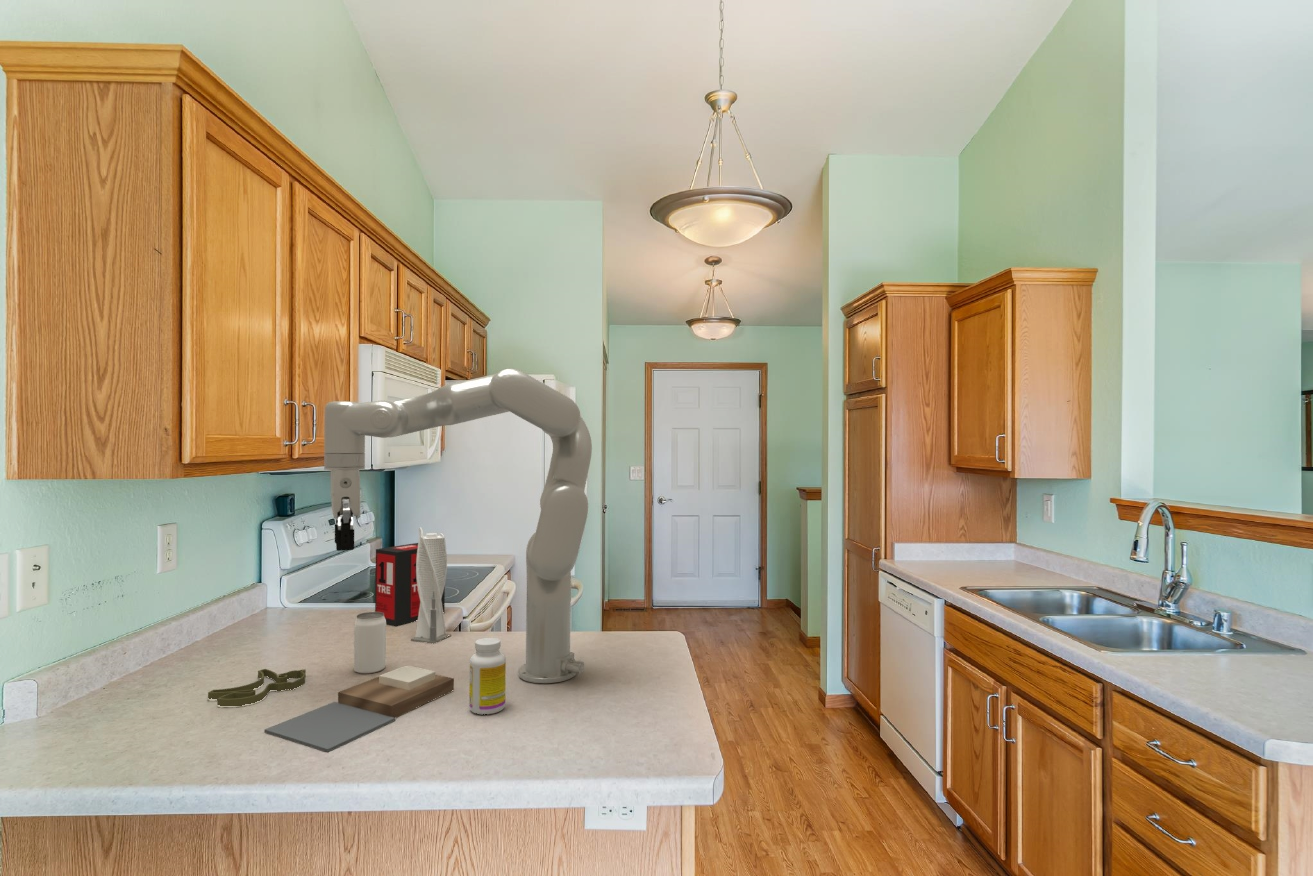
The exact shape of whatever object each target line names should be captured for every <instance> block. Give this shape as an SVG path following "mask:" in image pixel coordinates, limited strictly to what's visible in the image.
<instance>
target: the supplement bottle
mask: <svg viewBox="0 0 1313 876" xmlns="http://www.w3.org/2000/svg"><path fill="white" fill-rule="evenodd" d="M474 649H475V651H476V652H475V653H474V654H472V655H471V657H470V659H469V693H468V694H469V695H468V696H469V699H468V701H469V706H468V707H469V710H470V712H471V713H473V714H476V713H477V715H483V714H484V715H485V714H487V715H492V714H496V713H499V712H501V711H502V710H504V708H505V707H506V674H507V673H506V667H507V666H506V664H507V663H506V662H507V661H506V656H505V654H504V653H502V652H501V651H500V649H501V639H500V638H497V637H484V638H483V637H482V638H479V639H477V640H475V642H474Z"/></svg>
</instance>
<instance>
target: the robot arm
mask: <svg viewBox="0 0 1313 876" xmlns="http://www.w3.org/2000/svg"><path fill="white" fill-rule="evenodd" d="M509 412H510V413H511V414H514V415H515V416H517V417H519V418H520V419H522V420H525V422H528V423H529V424H532V426H533V425H534V426H535V427H537V428H539V429H541V430H542V431H543V432H544V433H545V434H547V436H549V437H550V439H551V440H550V441H552V454H551V456H550V457H551V459H550V464H549V468H548V471H547V476H546V480H545V484H544V487H543V490H542V492H541V496H540V499H539V501H540V502H539V505H540V506H539V507H540V513H539V517H538V522H537V527H536V529H535V532H534V533H533V534H532V535H531V537H529V540H528V542H527V544H526V552H525V557H526V558H525V561H526V562H525V563H526V606H525V607H526V608H525V609H526V613H525V614H526V618H525V623H526V625H525V626H526V627H525V663H524V664H522V665H520V667H519V668H518V677H519V678H520V679H521V680H523V681H525V682H529V683H535V684H553V683H554V684H555V683H560V682H565V681H568V680H570V679H572V678H574V677H575V676H576V675H577V674H579V675H581V674H582V673H583V672H584V666H585V662H584V661H582V660H576V659H575V652H571V610H572V609H571V606H572V605H571V604H572V602H571V601H572V580H571V579H572V574H571V573H572V572H571V571H572V570H573V569H574V567H575V565H576V562H577V560H578V555H579V551H580V547H581V543H582V540H583V535H584V532H585V527H586V523H587V518H588V515H589V500H588V497H587V494H586V493H585V489H586V484H587V481H588V477H589V476H588V475H589V470H590V464H591V459H592V450H593V447H592V439H591V438H592V437H591V435H590V434H591V433H590V431H589V428H588V426H587V424H586V422H585V420H584V419H583V418H582V416H581V411H580V408H579V406H578V405H577V403H576V402H575V401H574V400H573V399H572V398H570V397H568V396H567V395H565V394H563V393H562V392H560V391H558V390H556V389H555V388H552V387H551V386H549V385H547V384H545V383H543V382H541V381H539V380H538V379H536V378H534V377H533V376H532V375H529V373H528V374H527V373H526V372H524V371H522V370H520V369H517V368H514V367H512V368H510V367H509V368H505V369H502V370H499V371H498V372H496V373H493V374H489V375H484V376H481V377H476V378H471V379H467V380H462V381H457V382H456V381H455V382H452V383H449V384H445V385H443V386H441V387H439V388H437V389H436V390H434V391H433V390H432V391H430V392H428V393H425V394H422V395H418V396H413V397H409V398H405V399H400V400H396V401H390V400H389V401H388V400H378V401H377V400H375V401H368V402H367V401H366V402H358V401H348V400H347V401H344V400H341V401H339V400H336V401H335V400H334V401H330V402H327V404H325V407H324V440H323V441H324V445H323V446H324V447H323V448H324V450H323V451H324V452H323V453H324V455H323V458H324V459H323V460H324V461H323V462H324V463H323V465H324V466H323V468H324V471H325V470H327V471H330V500H331V509H332V515H333V518H334V519H335V524H334V543H335V544H336V546H335V547H336V548H335V549H336V551H341V552H342V551H353V550H355V529H354V517H355V518H356V519H357V520H358V519H359V518H361V476H360V474H361V473H360V470H365V469H366V466H365V465H366V464H365V463H366V453H365V452H366V449H365V448H366V436H367V437H372V438H373V437H374V438H375V437H376V438H382V439H385V438H395V437H396V438H397V437H401V436H404V435H408V434H412V433H417V432H421V431H425V430H431V429H433V428H438V427H443V426H444V427H445V426H453V425H458V424H461V423H462V424H463V423H466V422H471V421H474V420H479V419H483V418H488V417H492V416H495V415H501V414H505V413H509Z"/></svg>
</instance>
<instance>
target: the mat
mask: <svg viewBox="0 0 1313 876" xmlns="http://www.w3.org/2000/svg"><path fill="white" fill-rule="evenodd" d="M393 722H396V718H394V717H390V716H386V715H383V714H379V713H375V712H371V711H367V710H364V709H360V708H356V707H352V706H348V705H345V704H341V703H338V701H337V702H336V701H333V702H331V703H328V704H325V705H323V706H320V707H317V708H315V709H312V710H311V711H307V712H305V713H302V714H299V715H297V716H294V717H292V718H290V719H288V720H285V721H282V722H279V723H277V724H274V725H273V726H270V727H268V728H265V729H264V730H263V731H264V733H265V734H268V735H271V736H275V737H278V738H280V739H284V740H287V741H291V742H294V743H297V744H300V745H304V746H307V747H310V748H313V749H315V750H319V751H323V752H326V753H329V752H331V751H333V750H336V749H338V748H340V747H342V746H344V745H346V744H349V743H351V742H353V741H354V740H358V739H359V738H361V737H363V736H365V735H367V734H370V733H372V732H374V731H377V730H378V729H380V728H383V727H385V726H387V725H388V724H391V723H393Z"/></svg>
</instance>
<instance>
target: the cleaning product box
mask: <svg viewBox="0 0 1313 876" xmlns="http://www.w3.org/2000/svg"><path fill="white" fill-rule="evenodd" d="M417 550H418V542H414V543H408V544H401V545H395V546H388V547H381V548H377V549H376V548H375V587H374V588H375V589H374V590H375V596H374V597H375V598H374V600H375V601H374V605H375V607H374V612H382V613H384V617H385V619H386V626H387V625H388V626H392V627H396V628H397V627H400V626H404V625H409V624H411V622H412V623H415V622H417V621H416V620H418V615H419V608H420V598H419V593H418V587H417V578H416V560H417ZM445 588H446V587H445V586H444V590H443V594H442V598H441V601H442V607H443V612H444V613H445V607H446V606H445V605H446V603H445V600H446V599H445V597H446V596H445V595H446V594H445V593H446V592H445V590H446V589H445ZM414 621H415V622H414Z"/></svg>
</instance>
